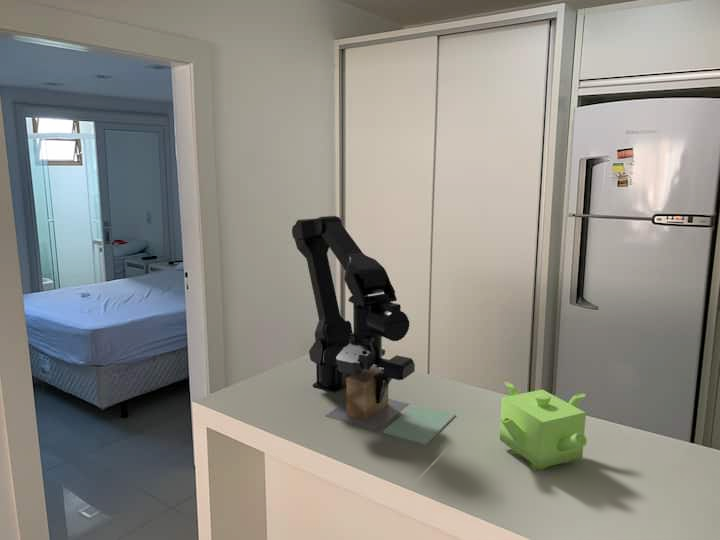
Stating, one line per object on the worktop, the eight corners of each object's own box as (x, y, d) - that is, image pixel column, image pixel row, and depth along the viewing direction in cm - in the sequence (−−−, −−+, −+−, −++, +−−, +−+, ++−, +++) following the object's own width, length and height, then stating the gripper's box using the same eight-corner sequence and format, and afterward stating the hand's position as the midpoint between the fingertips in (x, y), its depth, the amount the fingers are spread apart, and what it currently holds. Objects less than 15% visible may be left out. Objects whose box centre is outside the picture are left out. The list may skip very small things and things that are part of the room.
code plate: (324, 416, 114) (324, 415, 114) (361, 392, 126) (361, 391, 126) (375, 431, 108) (375, 430, 108) (409, 404, 119) (409, 403, 119)
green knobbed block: (502, 430, 108) (504, 374, 106) (581, 442, 104) (585, 384, 101) (492, 469, 94) (495, 407, 92) (583, 486, 90) (589, 420, 88)
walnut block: (346, 415, 114) (346, 378, 113) (369, 399, 122) (369, 364, 120) (366, 420, 112) (365, 382, 110) (388, 404, 119) (388, 368, 118)
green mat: (382, 433, 107) (382, 431, 107) (415, 406, 119) (415, 404, 118) (425, 446, 102) (425, 443, 102) (455, 416, 114) (455, 414, 114)
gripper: (306, 330, 111) (307, 404, 114) (388, 346, 102) (388, 426, 105) (337, 317, 121) (338, 385, 124) (416, 330, 111) (415, 404, 114)
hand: (367, 400), depth 116 cm, fingers open, 5 cm apart
